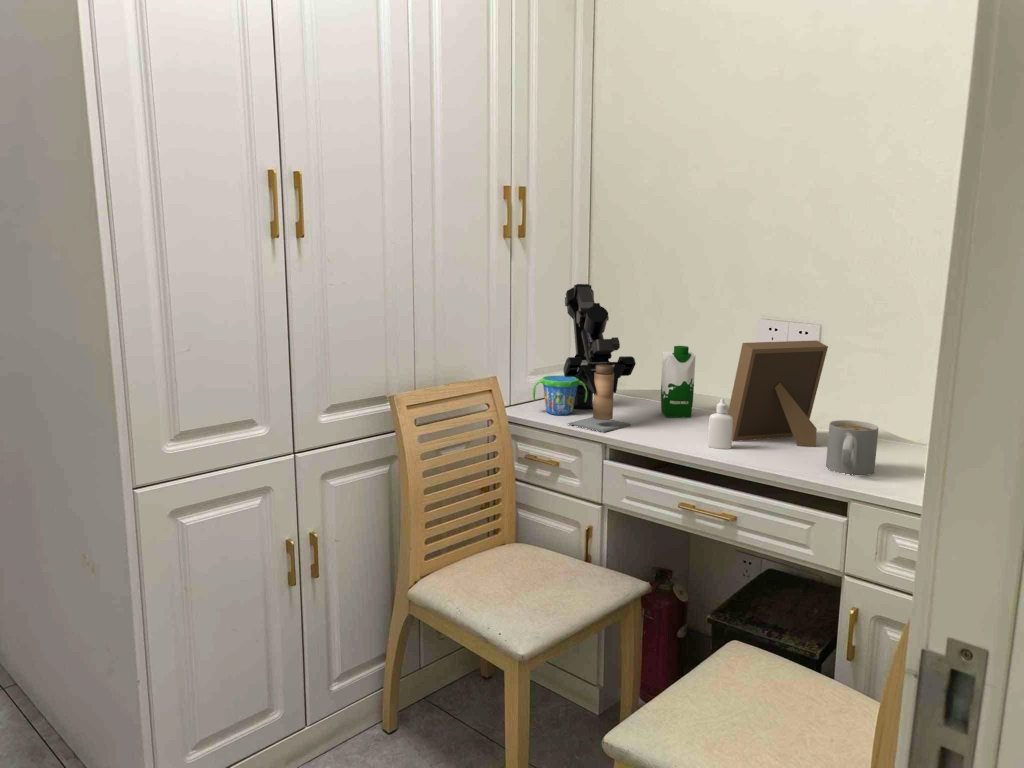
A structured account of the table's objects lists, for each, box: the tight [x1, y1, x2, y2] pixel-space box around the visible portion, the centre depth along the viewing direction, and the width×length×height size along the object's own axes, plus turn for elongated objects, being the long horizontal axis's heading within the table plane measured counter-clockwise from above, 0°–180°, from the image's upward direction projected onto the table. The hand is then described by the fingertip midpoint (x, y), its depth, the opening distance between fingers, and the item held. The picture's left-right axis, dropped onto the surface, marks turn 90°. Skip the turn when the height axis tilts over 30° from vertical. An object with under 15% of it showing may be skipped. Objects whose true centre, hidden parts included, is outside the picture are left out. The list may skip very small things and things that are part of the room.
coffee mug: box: [825, 419, 879, 476], centre depth 177 cm, size 13×10×10 cm
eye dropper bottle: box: [707, 398, 733, 450], centre depth 195 cm, size 4×6×12 cm
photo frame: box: [727, 339, 829, 447], centre depth 201 cm, size 15×22×25 cm
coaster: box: [567, 416, 631, 433], centre depth 217 cm, size 12×12×1 cm
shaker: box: [592, 364, 615, 420], centre depth 214 cm, size 5×5×14 cm
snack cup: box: [532, 375, 587, 416], centre depth 231 cm, size 16×10×10 cm
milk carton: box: [660, 345, 697, 418], centre depth 230 cm, size 9×9×20 cm
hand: (605, 392), depth 212 cm, fingers closed on shaker, 5 cm apart
